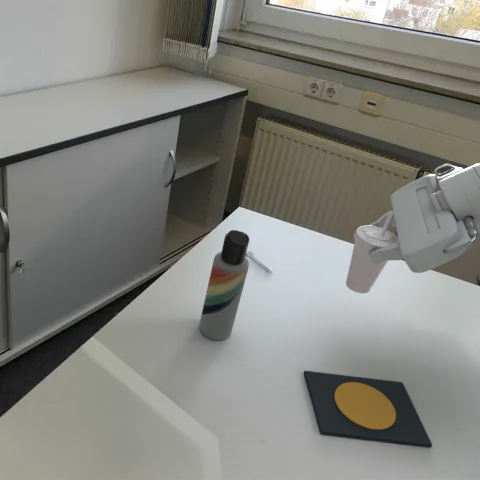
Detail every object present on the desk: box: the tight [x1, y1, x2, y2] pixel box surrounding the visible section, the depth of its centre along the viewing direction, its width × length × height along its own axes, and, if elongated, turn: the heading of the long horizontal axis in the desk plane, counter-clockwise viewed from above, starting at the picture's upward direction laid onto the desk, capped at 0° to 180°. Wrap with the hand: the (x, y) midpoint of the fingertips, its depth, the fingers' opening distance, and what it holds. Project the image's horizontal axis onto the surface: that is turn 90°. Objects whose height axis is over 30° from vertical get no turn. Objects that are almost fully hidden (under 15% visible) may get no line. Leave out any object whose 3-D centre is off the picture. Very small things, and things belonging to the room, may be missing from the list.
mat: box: [303, 370, 433, 448], centre depth 83 cm, size 16×12×1 cm
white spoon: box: [246, 248, 274, 274], centre depth 115 cm, size 14×4×2 cm, turn 30°
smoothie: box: [345, 210, 399, 294], centre depth 84 cm, size 6×6×14 cm
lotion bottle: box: [199, 229, 250, 341], centre depth 90 cm, size 6×6×20 cm
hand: (369, 244), depth 83 cm, fingers closed on smoothie, 6 cm apart
